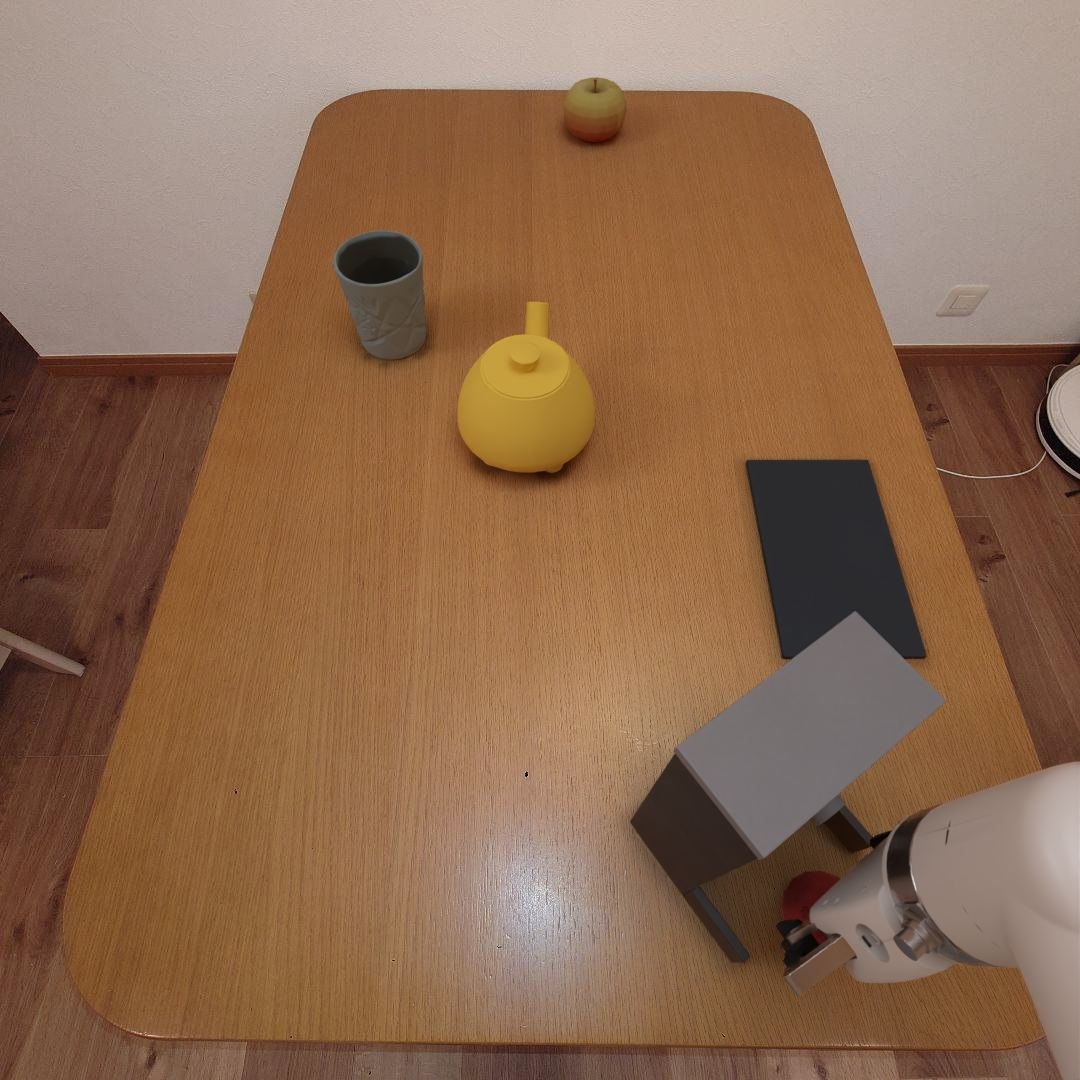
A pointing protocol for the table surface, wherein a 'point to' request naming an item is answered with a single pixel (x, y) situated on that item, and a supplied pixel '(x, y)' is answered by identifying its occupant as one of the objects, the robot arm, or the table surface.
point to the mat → (829, 552)
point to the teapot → (526, 401)
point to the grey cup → (384, 291)
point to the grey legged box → (781, 763)
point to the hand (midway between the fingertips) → (840, 899)
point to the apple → (594, 109)
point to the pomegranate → (806, 896)
